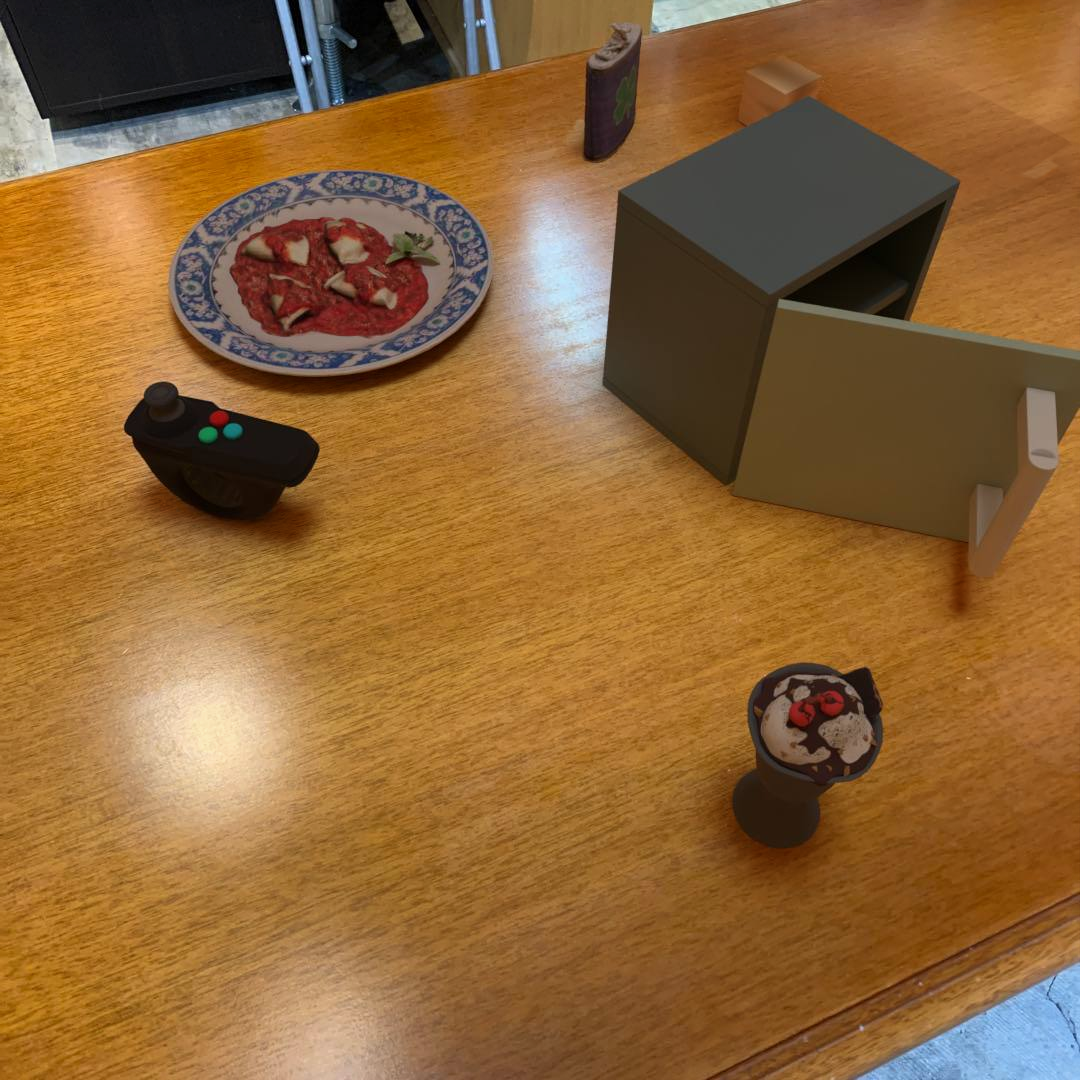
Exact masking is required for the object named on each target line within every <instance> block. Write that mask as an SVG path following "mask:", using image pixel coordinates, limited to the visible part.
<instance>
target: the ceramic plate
mask: <svg viewBox="0 0 1080 1080" xmlns="http://www.w3.org/2000/svg"><path fill="white" fill-rule="evenodd" d="M493 273H494V251H493V247H492V244H491V241H490V239H489V236H488V233H487V231H486V229H485V227H484V226H483V225H482V223H481V222H480V220H479V219H478V218H477V217H476V216H475V215H474V214H473V212H472V211H471V210H470V209H468V208H467V207H466V206H465V205H464V204H463V203H462V202H460V201H459V200H458V199H456V198H454V197H453V196H451V195H449V194H448V193H446V192H444V191H443V190H441V189H438V188H436V187H435V186H432V185H430V184H429V183H425V182H423V181H419V180H416V179H413V178H409V177H406V176H403V175H399V174H393V173H389V172H382V171H378V170H360V169H359V170H357V169H335V170H333V169H332V170H331V169H330V170H319V171H309V172H302V173H298V174H294V175H290V176H286V177H285V176H284V177H281V178H277V179H273V180H271V181H267V182H263V183H260V184H258V185H256V186H253V187H251V188H249V189H246V190H245V191H242V192H241V193H238V194H236V195H234V196H232V197H230V198H228V199H227V200H224V201H222V202H221V203H220V204H218V205H217V206H216V207H214V208H213V209H212V210H211V211H209V212H208V213H206V214H205V215H204V216H203V217H201V219H199V220H198V221H197V222H195V224H194V225H192V227H191V228H190V229H189V231H188V232H187V233H186V234H185V236H184V237H183V238H182V240H181V241H180V243H179V245H178V246H177V248H176V250H175V252H174V253H173V256H172V259H171V262H170V266H169V270H168V279H167V281H168V282H167V285H168V287H167V288H168V295H169V298H170V303H171V305H172V308H173V310H174V312H175V315H176V317H177V318H178V320H179V321H180V322H181V324H182V326H184V327H185V329H186V330H187V332H188V333H189V334H190V335H192V336H193V338H195V339H196V340H197V341H198V342H199V343H201V344H202V345H203V346H204V347H206V348H207V349H209V350H210V351H212V352H214V353H215V354H217V355H219V356H221V357H223V358H225V359H227V360H229V361H231V362H234V363H236V364H240V365H241V366H244V367H248V368H252V369H253V370H254V369H255V370H258V371H262V372H267V373H271V374H277V375H286V376H295V377H311V378H312V377H336V376H347V375H352V374H360V373H365V372H370V371H374V370H378V369H383V368H386V367H389V366H393V365H395V364H396V365H397V364H399V363H402V362H404V361H406V360H409V359H411V358H414V357H416V356H418V355H421V354H423V353H425V352H427V351H429V350H430V349H432V348H435V346H437V345H439V344H440V343H442V342H444V341H445V340H446V339H447V338H449V337H451V336H452V335H454V334H455V333H456V332H458V331H459V329H461V327H463V326H464V325H465V324H466V323H467V322H468V321H469V320H470V319H471V318H472V317H473V315H474V314H475V313H476V312H477V310H478V309H479V308H480V307H481V304H482V303H483V301H484V299H485V297H486V295H487V293H488V291H489V288H490V285H491V282H492V278H493Z"/></svg>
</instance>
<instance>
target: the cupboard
mask: <svg viewBox="0 0 1080 1080" xmlns="http://www.w3.org/2000/svg"><path fill="white" fill-rule="evenodd" d="M961 182H962V180H961V179H958V178H957V177H955V176H953V175H952V174H949V173H948V172H946V171H944V170H943V169H941V168H939V167H937V166H936V165H933V164H932V163H930V162H928V161H926V160H924V159H923V158H921V157H919V156H918V155H915V154H914V153H912V152H910V151H908V150H907V149H905V148H903V147H901V146H899V145H898V144H896V143H894V142H892V141H890V140H889V139H887V138H886V137H884V136H881V135H880V134H878V133H876V132H875V131H873V130H871V129H869V128H867V127H866V126H864V125H862V124H860V123H858V122H857V121H855V120H853V119H852V118H849V117H847V116H846V115H844V114H842V113H840V112H839V111H838V110H835V109H833V108H831V107H830V106H828V105H826V104H824V103H823V102H820V101H819V100H818V99H816V100H815V99H814V98H812V97H810V96H807V97H805V98H803V99H801V100H799V101H797V102H795V103H793V104H791V105H789V106H787V107H785V108H783V109H781V110H779V111H777V112H775V113H773V114H771V115H769V116H767V117H765V118H763V119H761V120H759V121H757V122H755V123H753V124H751V125H749V126H745V127H743V128H741V129H738V130H737V131H734V132H733V133H731V134H728V135H727V136H725V137H722V138H721V139H718V140H716V141H715V142H713V143H711V144H708V145H707V146H704V147H703V148H700V149H699V150H697V151H694V152H692V153H691V154H689V155H687V156H685V157H683V158H680V159H678V160H677V161H675V162H673V163H671V164H668V165H667V166H665V167H663V168H661V169H659V170H656V171H655V172H652V173H651V174H649V175H646V176H644V177H642V178H640V179H639V180H637V181H634V182H632V183H630V184H629V185H627V186H624V187H622V188H620V189H618V191H617V200H616V201H617V202H616V203H617V205H616V206H617V207H616V214H615V215H616V217H615V226H614V227H615V228H614V239H613V252H612V263H611V264H612V265H611V276H610V278H611V279H610V287H609V288H610V289H609V301H608V313H607V323H606V335H605V336H606V337H605V348H604V362H603V373H602V376H603V377H602V381H601V382H602V383H601V385H602V387H604V389H606V390H607V391H608V392H610V393H611V394H612V395H613V396H614V397H616V399H618V400H619V401H621V402H622V403H623V404H624V405H626V406H627V407H628V408H629V409H630V410H632V411H633V413H635V414H637V416H639V417H640V418H641V419H643V420H644V421H646V423H647V424H648V425H650V426H651V427H653V428H654V429H655V430H656V431H657V432H658V433H660V434H661V435H662V436H663V437H664V438H666V439H667V440H668V441H669V442H670V443H672V444H673V445H674V446H676V447H677V448H678V449H679V450H681V451H682V452H683V453H684V454H685V455H686V456H688V457H689V458H690V459H691V460H692V461H694V462H695V463H696V464H698V465H699V466H700V467H701V468H703V470H705V471H706V472H708V473H709V474H710V475H711V476H712V477H714V479H716V480H717V481H719V483H721V484H722V485H723V486H725V487H727V486H729V485H730V484H732V483H734V482H735V480H736V475H737V471H738V467H739V463H740V459H741V454H742V450H743V446H744V442H745V438H746V434H747V429H748V425H749V421H750V417H751V413H752V408H753V404H754V400H755V396H756V392H757V388H758V383H759V379H760V375H761V371H762V367H763V362H764V358H765V354H766V350H767V346H768V342H769V337H770V333H771V329H772V325H773V321H774V316H775V312H776V308H777V304H778V300H779V299H783V300H789V301H795V302H800V303H806V304H812V305H818V306H824V307H829V308H835V309H841V310H847V311H852V312H858V313H864V314H870V315H876V316H881V317H887V318H893V319H899V320H904V321H910V322H911V319H912V317H913V314H914V310H915V307H916V305H917V302H918V300H919V297H920V294H921V291H922V288H923V287H924V283H925V280H926V278H927V275H928V272H929V270H930V266H931V264H932V261H933V258H934V255H935V253H936V251H937V247H938V245H939V242H940V239H941V237H942V234H943V231H944V228H945V226H946V224H947V220H948V218H949V215H950V212H951V209H952V207H953V204H954V201H955V199H956V196H957V193H958V191H959V188H960V184H961Z"/></svg>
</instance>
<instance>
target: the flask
mask: <svg viewBox="0 0 1080 1080" xmlns="http://www.w3.org/2000/svg"><path fill="white" fill-rule="evenodd" d="M608 26H609V27H611V28H613V30H614V31H613V32H612V34H611V35H610V37H609V39H608V41H607V43H605V45H604V46H603V47H602V48H600V50H596V51H595V53H594V54H591V55H590V56H589V58H587V61H586V66H585V85H584V86H585V88H584V89H585V92H584V93H585V94H584V98H585V99H584V102H585V103H584V104H585V105H584V120H583V121H584V128H583V150H582V156H583V158H584V160H585V161H589V162H592V163H600V162H602V161H606V160H607V159H609V158H610V157H611V156H613V155H614V153H616V152H617V151H618V149H620V148H621V147H622V145H623V143H625V141H626V139H627V138H628V136H629V133H630V132H631V130H632V129H633V126H634V124H635V120H636V111H637V110H636V105H637V97H638V81H639V69H640V63H641V62H640V60H641V59H640V57H641V56H640V55H641V48H642V36H643V29H642V27H641V25H638V24H637V23H632V22H621V23H620V24H618V22H616V21H615V22H613V23H609V25H608Z"/></svg>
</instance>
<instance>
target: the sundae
mask: <svg viewBox="0 0 1080 1080" xmlns="http://www.w3.org/2000/svg"><path fill="white" fill-rule="evenodd" d="M883 709H884V703H883V699H882V696H881V693H880V691H879V688H878V686H877V684H876V681H875V680H874V678H873V674H872V672H871V669H870V668H869V667H868V666H862V667H859V668H856V669H854V670H850V671H848V672H846V673H842V672H841V671H839V670H838V669H835V668H833V667H831V666H829V665H825V664H821V663H817V662H806V661H805V662H803V661H802V662H797V663H791V664H787V665H785V666H784V665H783V666H781V667H779V668H777V669H775V670H773V671H771V672H769V673H768V674H766V675H765V676H763V677H761V679H760V680H759V681H758V682H756V684H755V686H754V687H753V689H752V690H751V693H750V695H749V697H748V702H747V711H746V712H747V713H746V714H747V725H748V730H749V735H750V737H751V740H752V744H753V746H754V749H755V765H756V766H755V767H756V768H753V769H751V770H750V771H748V772H747V773H745V774H744V775H743V776H741V778H739V780H738V782H737V783H736V785H735V788H734V789H733V792H732V801H731V802H732V803H731V805H732V810H733V811H732V812H733V815H734V817H735V819H736V821H737V824H738V825H739V827H740V828H741V829H742V830H743V832H745V834H746V835H747V836H748V837H750V838H751V839H752V840H754V841H755V842H757V843H759V844H761V845H763V846H765V847H768V848H774V849H782V850H785V849H790V848H791V849H792V848H795V847H799V846H801V845H803V844H804V843H806V842H807V841H808V840H810V839H811V838H812V837H814V835H815V834H816V833H815V832H816V831H817V829H818V827H819V824H820V822H821V804H820V802H819V799H818V798H820V797H821V796H822V795H823V794H825V793H826V792H827V791H829V790H830V789H831V788H832V787H833V786H834V785H836V784H839V783H840V784H841V783H847V782H853V781H855V780H857V779H859V778H861V777H862V776H864V775H865V774H866V773H868V771H870V769H871V768H872V766H874V764H875V762H876V760H877V758H878V756H879V755H880V751H881V748H882V746H883V743H884V726H883V725H884V724H883V718H882V716H881V712H882V711H883Z"/></svg>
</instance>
